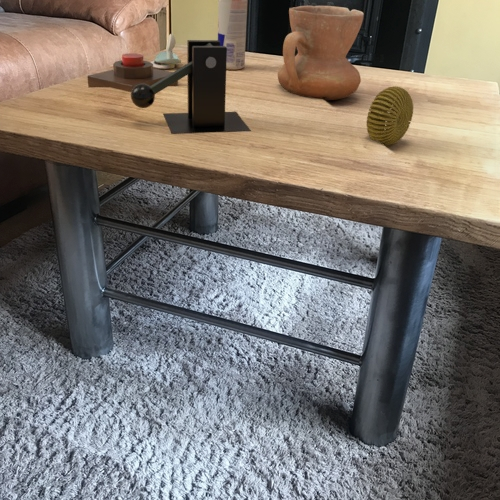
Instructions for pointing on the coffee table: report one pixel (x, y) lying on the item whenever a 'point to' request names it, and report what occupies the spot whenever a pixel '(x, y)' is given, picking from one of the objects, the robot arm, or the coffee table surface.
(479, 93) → the coffee table surface
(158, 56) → the pacifier
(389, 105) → the sculpture
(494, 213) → the coffee table surface
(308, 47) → the ceramic jug
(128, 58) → the button
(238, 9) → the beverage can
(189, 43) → the switch bracket
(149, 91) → the switch lever
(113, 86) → the button block
